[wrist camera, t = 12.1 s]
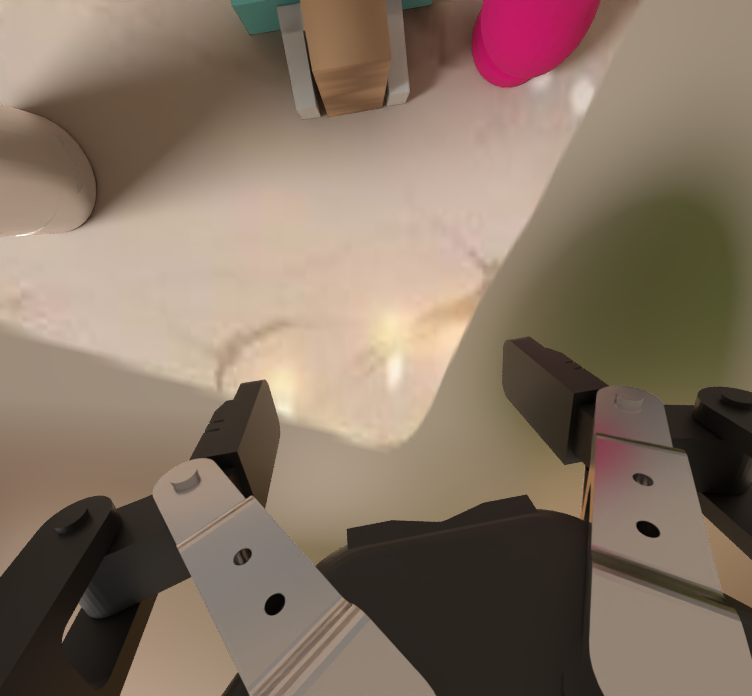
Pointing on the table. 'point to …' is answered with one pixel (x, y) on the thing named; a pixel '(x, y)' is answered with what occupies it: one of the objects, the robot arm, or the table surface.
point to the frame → (302, 67)
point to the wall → (260, 13)
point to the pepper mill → (527, 37)
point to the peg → (348, 52)
